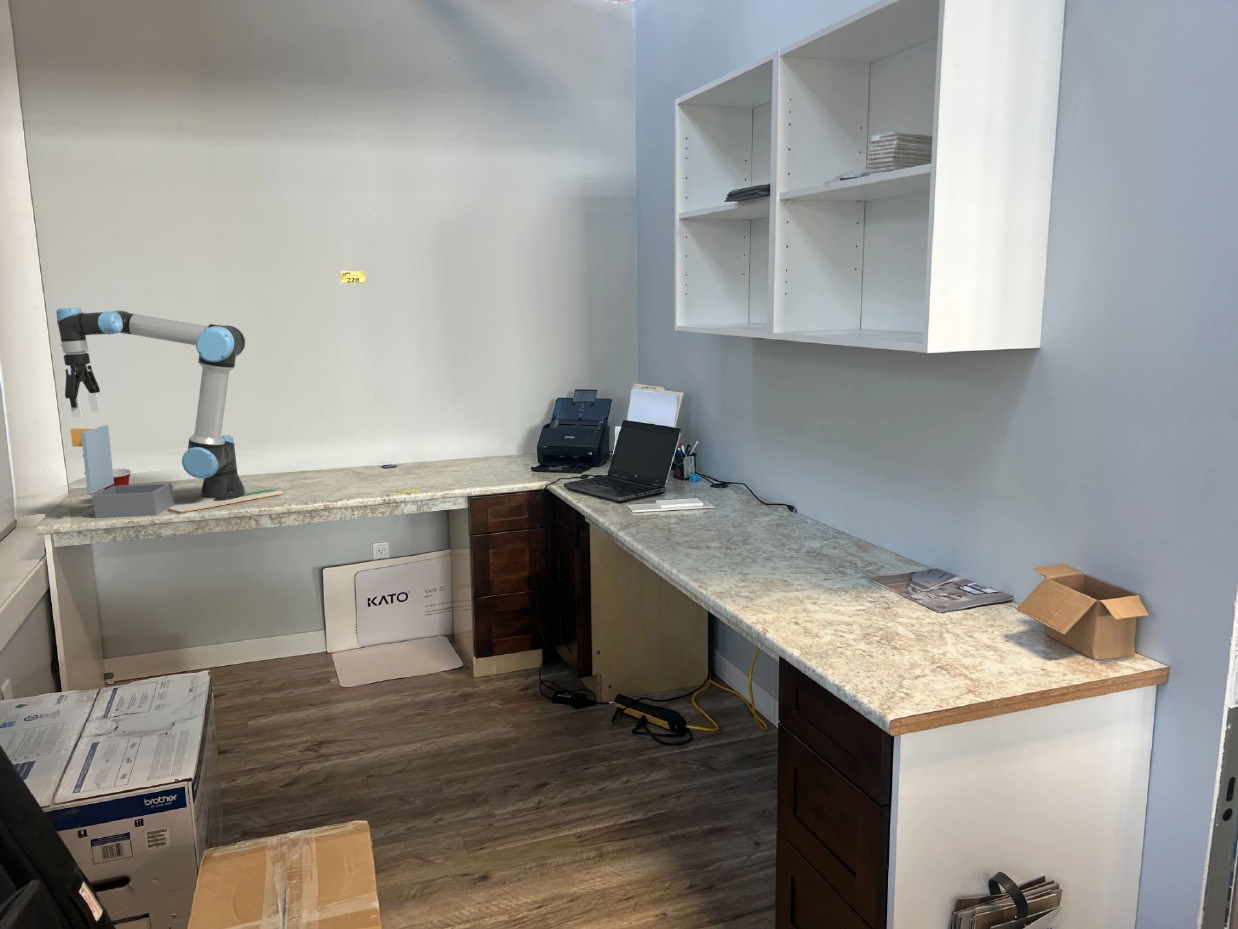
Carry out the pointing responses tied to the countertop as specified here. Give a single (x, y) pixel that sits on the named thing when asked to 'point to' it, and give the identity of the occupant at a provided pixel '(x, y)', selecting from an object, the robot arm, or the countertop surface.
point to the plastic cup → (120, 477)
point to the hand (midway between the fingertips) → (86, 414)
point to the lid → (95, 457)
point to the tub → (133, 500)
